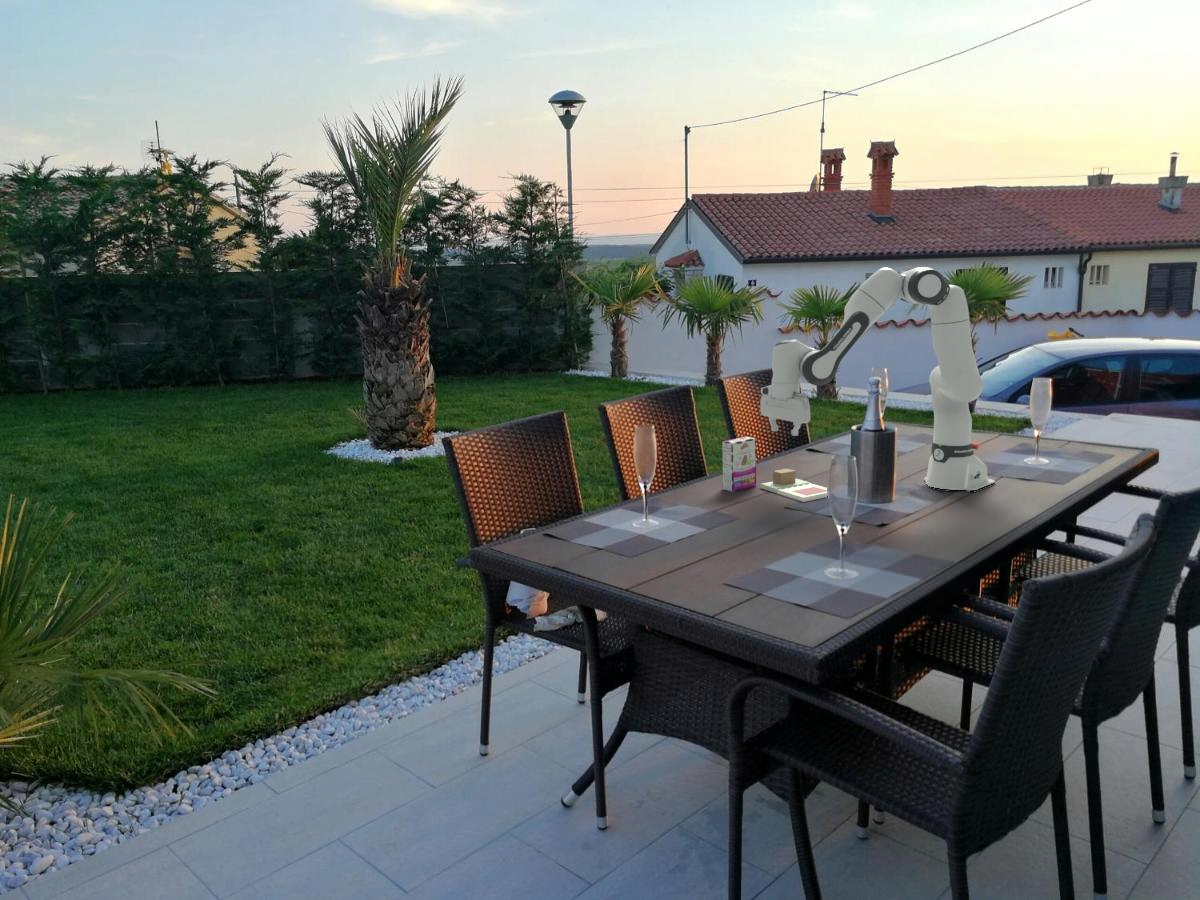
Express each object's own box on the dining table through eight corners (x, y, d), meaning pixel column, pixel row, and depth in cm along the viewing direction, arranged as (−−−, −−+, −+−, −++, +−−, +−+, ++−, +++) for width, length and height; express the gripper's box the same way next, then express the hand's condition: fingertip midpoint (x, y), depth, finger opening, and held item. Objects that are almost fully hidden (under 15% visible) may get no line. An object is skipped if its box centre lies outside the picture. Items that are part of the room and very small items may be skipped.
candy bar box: (745, 483, 281) (745, 435, 277) (756, 486, 277) (757, 438, 273) (721, 489, 274) (721, 440, 271) (732, 492, 270) (732, 442, 267)
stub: (793, 482, 280) (793, 466, 279) (809, 486, 273) (810, 470, 272) (760, 488, 274) (760, 471, 273) (776, 493, 267) (776, 476, 266)
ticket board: (810, 487, 273) (810, 482, 273) (837, 495, 263) (837, 490, 263) (777, 494, 267) (777, 489, 266) (803, 502, 256) (803, 497, 256)
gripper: (815, 393, 260) (814, 437, 263) (772, 386, 278) (771, 427, 280) (800, 395, 257) (799, 439, 260) (757, 388, 275) (756, 429, 277)
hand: (784, 433), depth 270 cm, fingers open, 8 cm apart
